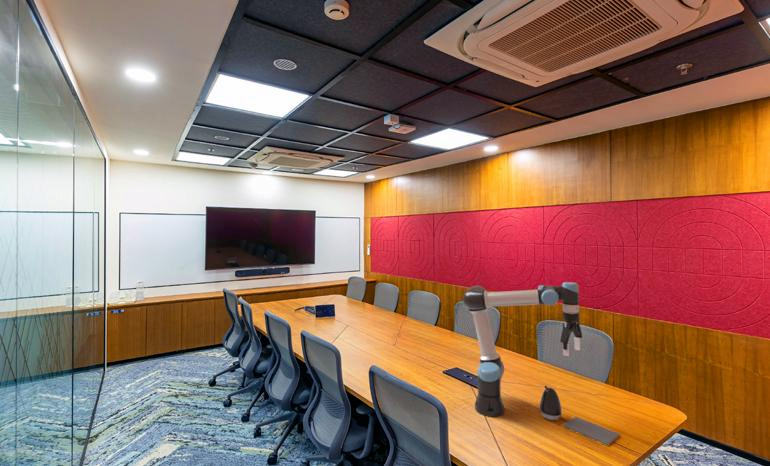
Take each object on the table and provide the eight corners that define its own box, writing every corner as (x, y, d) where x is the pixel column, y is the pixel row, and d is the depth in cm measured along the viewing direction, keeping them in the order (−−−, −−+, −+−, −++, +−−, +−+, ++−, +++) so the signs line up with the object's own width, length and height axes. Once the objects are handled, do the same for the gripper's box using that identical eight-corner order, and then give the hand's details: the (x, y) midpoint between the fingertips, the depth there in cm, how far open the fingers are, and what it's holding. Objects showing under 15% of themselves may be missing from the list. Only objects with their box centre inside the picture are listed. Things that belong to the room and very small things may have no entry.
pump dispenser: (555, 412, 185) (554, 383, 186) (565, 422, 175) (565, 392, 175) (536, 412, 185) (535, 383, 185) (545, 423, 175) (545, 392, 175)
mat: (607, 446, 155) (607, 444, 155) (562, 426, 172) (562, 424, 172) (619, 436, 163) (619, 434, 163) (575, 418, 179) (575, 416, 179)
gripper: (567, 317, 174) (568, 360, 174) (588, 309, 190) (589, 349, 190) (552, 314, 180) (553, 356, 180) (573, 307, 196) (574, 346, 196)
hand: (571, 352), depth 185 cm, fingers open, 13 cm apart
